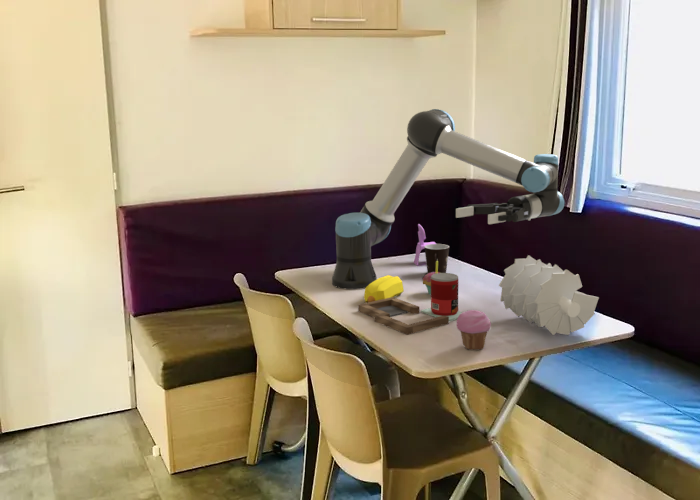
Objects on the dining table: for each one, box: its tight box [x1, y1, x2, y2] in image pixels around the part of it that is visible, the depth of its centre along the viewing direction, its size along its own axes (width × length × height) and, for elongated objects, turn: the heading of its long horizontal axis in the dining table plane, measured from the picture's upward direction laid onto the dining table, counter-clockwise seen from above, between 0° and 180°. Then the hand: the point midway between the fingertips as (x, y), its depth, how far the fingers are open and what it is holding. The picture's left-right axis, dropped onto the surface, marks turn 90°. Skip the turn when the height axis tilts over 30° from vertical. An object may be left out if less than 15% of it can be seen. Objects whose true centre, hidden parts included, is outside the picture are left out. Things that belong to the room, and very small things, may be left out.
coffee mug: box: [424, 243, 450, 274], centre depth 272 cm, size 12×9×10 cm
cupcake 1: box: [422, 259, 439, 296], centre depth 249 cm, size 9×8×12 cm
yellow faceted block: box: [363, 274, 405, 303], centre depth 246 cm, size 18×7×8 cm
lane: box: [357, 297, 450, 336], centre depth 227 cm, size 26×15×2 cm, turn 34°
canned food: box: [430, 272, 459, 316], centre depth 228 cm, size 8×8×11 cm
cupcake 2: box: [455, 309, 492, 351], centre depth 200 cm, size 9×9×10 cm
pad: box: [420, 307, 464, 322], centre depth 229 cm, size 12×8×1 cm, turn 34°
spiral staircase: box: [498, 254, 600, 336], centre depth 215 cm, size 18×18×25 cm
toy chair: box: [413, 223, 437, 267], centre depth 288 cm, size 8×9×15 cm
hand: (472, 216), depth 229 cm, fingers open, 13 cm apart
